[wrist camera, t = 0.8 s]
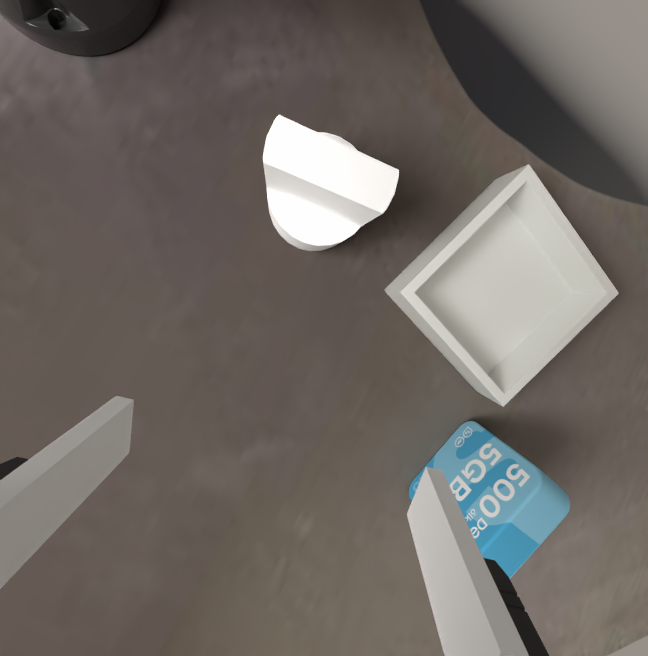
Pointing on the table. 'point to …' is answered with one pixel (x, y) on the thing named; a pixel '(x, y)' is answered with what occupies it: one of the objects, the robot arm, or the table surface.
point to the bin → (504, 286)
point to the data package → (499, 495)
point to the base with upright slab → (321, 185)
